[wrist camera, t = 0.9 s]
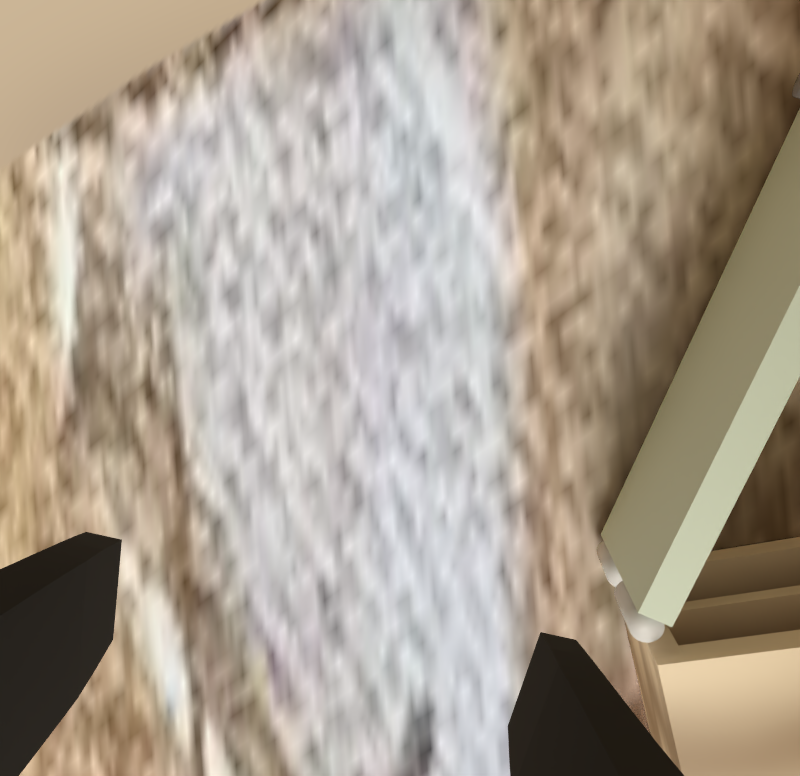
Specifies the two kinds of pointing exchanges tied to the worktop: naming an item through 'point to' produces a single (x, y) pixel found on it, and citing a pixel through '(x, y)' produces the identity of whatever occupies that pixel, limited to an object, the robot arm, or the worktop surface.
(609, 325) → the worktop surface
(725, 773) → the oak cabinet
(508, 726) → the robot arm
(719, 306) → the cabinet door
